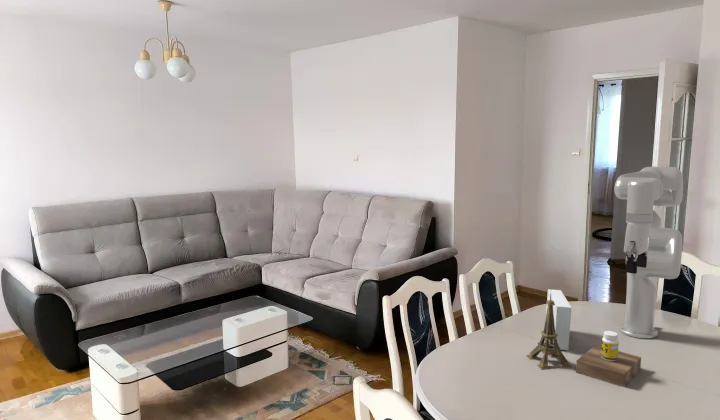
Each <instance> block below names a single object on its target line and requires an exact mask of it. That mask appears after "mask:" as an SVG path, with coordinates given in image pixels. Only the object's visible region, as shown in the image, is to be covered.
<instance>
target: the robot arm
mask: <svg viewBox="0 0 720 420" xmlns="http://www.w3.org/2000/svg"><path fill="white" fill-rule="evenodd" d="M683 176H684V175H683V173H682V170H680V169H679V168H678V167H677V166H676V167H675V166H646V167H643V168H642V169H641V170H639V171H636V172H635V171H634V172H629V173H625V174H621V175H619V176H618V177H617V178H616V180H615V184H614V189H613V191H614V195H615V197H616V198H618V199H619V200H626V216H625V223H626V224H627V225H626V229H625V235H624V246H623V252H624V253H625V254H626V256H625V273H626V297H625V299H626V300H625V313H624V314H625V315H624V324H621V325H620V326H619V330H620V332H621V333H622V334H624V335H626V336H629V337H633V338H638V339H653V338H656V337H658V335H659V333H658V332H659V331H658V330H657V329H656V328H654V327H655V325H654V324H655V311H656V308H655V307H656V294H657V291H656V290H657V289H656V286H655V284H654V282H653V281H652V280H651V278H658V279H665V280H666V279H667V280H674V279H677V278H678V277H679V275H680V274H681V273H680V272H681V270H682V269H681V267H682V266H681V265H682V256H683V255H682V254H683V235H682V233H681V232H680V230H679V229H676V228H671V227H670V228H669V227H661V225H662V219H661V217H660V215H659V214H658V213H657V212H656V210H654V206H655V207H656V206H657V207H658V206H659V207H671V208H672V207H673V208H674V207H679V205H681V203H682V202H683V198H684V177H683Z"/></svg>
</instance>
